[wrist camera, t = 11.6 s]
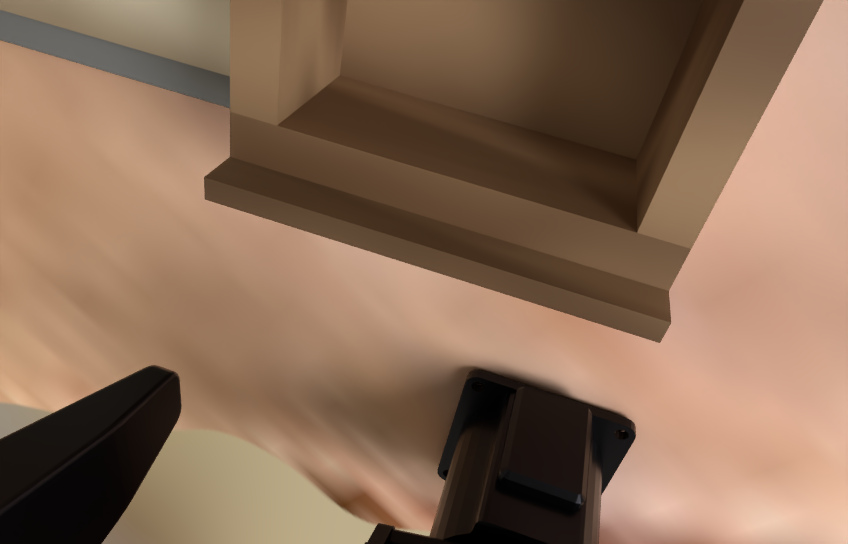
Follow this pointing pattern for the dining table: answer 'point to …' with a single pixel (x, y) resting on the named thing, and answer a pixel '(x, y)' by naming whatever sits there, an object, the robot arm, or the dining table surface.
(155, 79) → the rubber mat
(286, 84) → the walnut box
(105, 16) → the cover plate
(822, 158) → the dining table surface
